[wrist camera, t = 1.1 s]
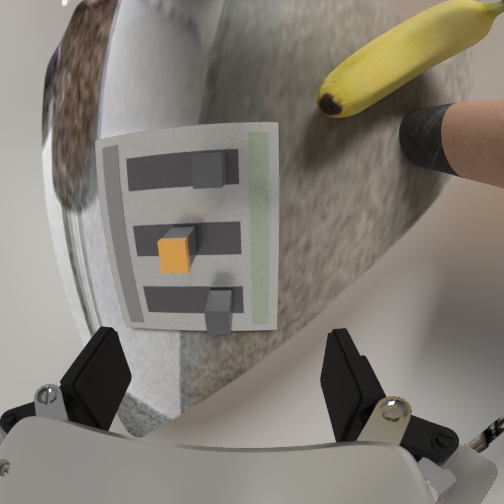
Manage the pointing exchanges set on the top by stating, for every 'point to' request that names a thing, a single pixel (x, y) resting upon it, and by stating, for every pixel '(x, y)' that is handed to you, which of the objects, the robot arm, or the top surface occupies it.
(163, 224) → the panel
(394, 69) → the banana
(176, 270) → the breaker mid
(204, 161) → the block
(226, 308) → the breaker far
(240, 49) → the top surface
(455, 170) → the travel mug
